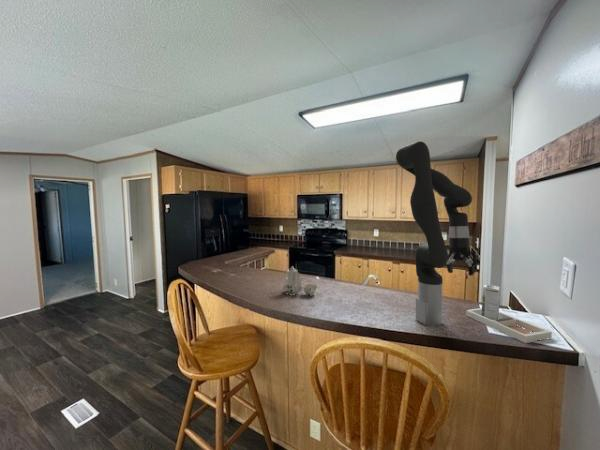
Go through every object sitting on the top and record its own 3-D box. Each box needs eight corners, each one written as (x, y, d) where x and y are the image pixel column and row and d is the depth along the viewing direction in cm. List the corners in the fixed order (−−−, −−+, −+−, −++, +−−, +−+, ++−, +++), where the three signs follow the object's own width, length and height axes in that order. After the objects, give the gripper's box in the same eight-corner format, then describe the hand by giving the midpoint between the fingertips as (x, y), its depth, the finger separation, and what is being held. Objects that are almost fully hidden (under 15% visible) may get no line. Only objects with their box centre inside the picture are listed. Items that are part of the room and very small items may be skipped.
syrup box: (482, 315, 113) (483, 283, 112) (499, 319, 109) (500, 286, 108) (481, 320, 109) (482, 287, 108) (498, 323, 105) (499, 289, 104)
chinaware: (322, 298, 143) (324, 269, 143) (298, 302, 134) (300, 270, 134) (295, 286, 166) (296, 261, 166) (272, 289, 157) (274, 262, 157)
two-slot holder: (525, 343, 90) (525, 335, 90) (465, 315, 114) (466, 309, 113) (551, 338, 93) (551, 331, 93) (488, 312, 116) (488, 306, 116)
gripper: (438, 237, 115) (439, 272, 114) (471, 237, 103) (473, 277, 102) (447, 236, 119) (449, 271, 118) (481, 236, 106) (483, 275, 106)
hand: (460, 274), depth 110 cm, fingers open, 8 cm apart
